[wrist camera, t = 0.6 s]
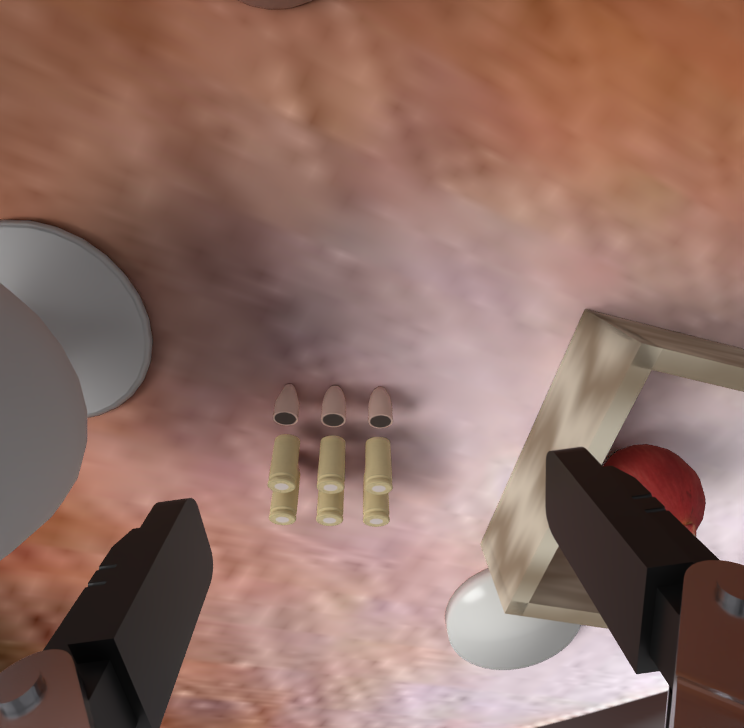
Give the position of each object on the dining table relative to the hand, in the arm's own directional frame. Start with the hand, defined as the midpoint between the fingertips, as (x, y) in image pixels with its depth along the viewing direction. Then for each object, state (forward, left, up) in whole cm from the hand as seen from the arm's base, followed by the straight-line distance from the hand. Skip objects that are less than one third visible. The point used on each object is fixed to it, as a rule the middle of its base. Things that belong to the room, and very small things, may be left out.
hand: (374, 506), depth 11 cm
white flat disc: (+23, +19, -19) cm, 35 cm away
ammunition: (+10, +1, -19) cm, 21 cm away
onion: (+7, +21, -19) cm, 29 cm away
